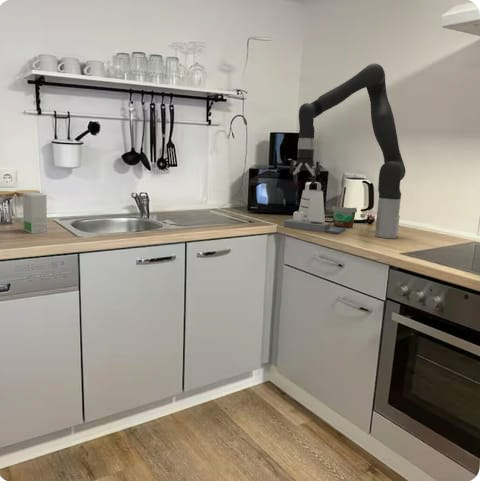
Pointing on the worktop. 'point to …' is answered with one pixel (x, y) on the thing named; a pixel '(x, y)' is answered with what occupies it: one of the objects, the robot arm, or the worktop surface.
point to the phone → (335, 230)
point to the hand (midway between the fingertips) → (304, 183)
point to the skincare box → (35, 212)
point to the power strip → (307, 225)
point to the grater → (312, 203)
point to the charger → (298, 216)
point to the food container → (343, 216)
